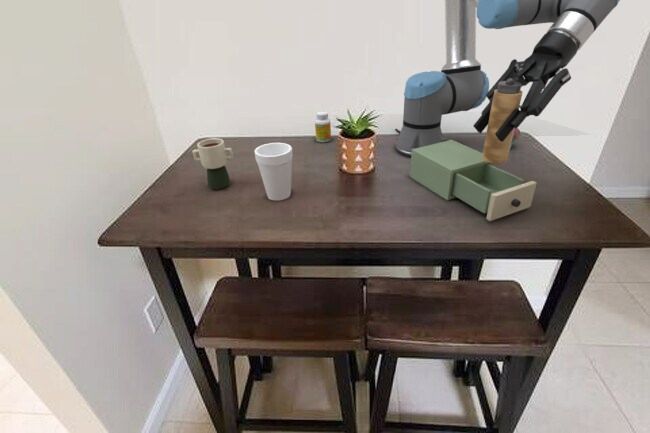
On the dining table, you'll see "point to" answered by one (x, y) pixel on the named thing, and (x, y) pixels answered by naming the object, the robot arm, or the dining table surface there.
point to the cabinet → (442, 165)
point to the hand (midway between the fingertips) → (487, 133)
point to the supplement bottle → (323, 127)
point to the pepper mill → (501, 121)
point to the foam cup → (275, 169)
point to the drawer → (492, 190)
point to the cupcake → (515, 135)
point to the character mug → (214, 161)
